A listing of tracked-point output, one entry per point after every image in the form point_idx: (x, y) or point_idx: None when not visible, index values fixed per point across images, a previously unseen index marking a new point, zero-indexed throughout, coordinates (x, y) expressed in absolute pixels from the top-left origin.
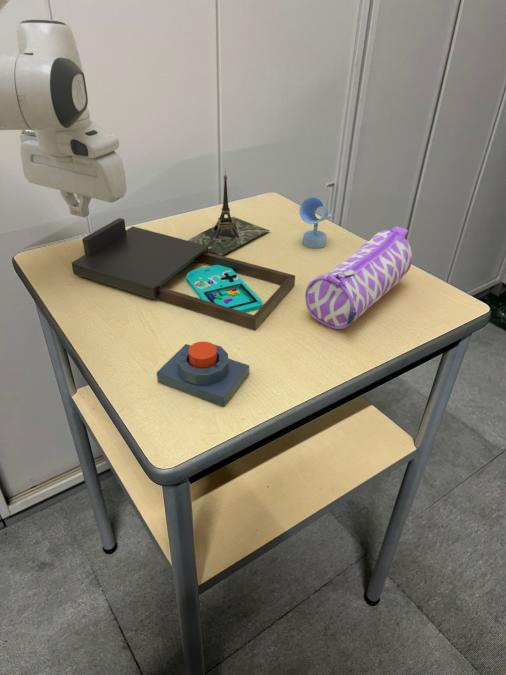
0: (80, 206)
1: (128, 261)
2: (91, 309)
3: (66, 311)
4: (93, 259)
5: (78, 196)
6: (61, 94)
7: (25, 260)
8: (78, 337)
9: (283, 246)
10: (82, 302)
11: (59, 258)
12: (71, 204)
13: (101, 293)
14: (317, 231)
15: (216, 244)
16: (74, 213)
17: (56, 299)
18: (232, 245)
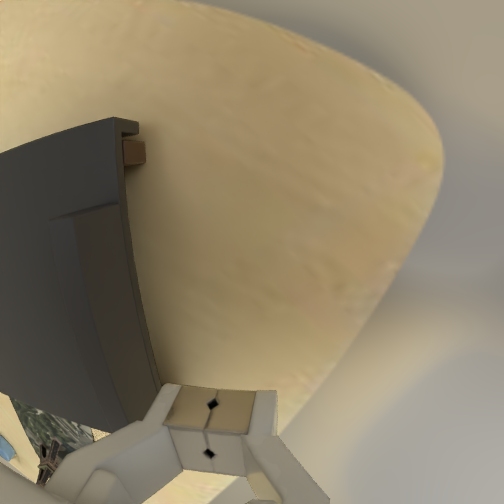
0: (133, 431)
1: (5, 249)
2: (19, 62)
3: (56, 15)
4: (70, 192)
5: (93, 490)
6: None
7: (407, 116)
8: (5, 6)
9: (8, 431)
10: (45, 60)
11: (305, 195)
12: (242, 447)
13: (33, 119)
14: (3, 457)
15: (41, 423)
16: (231, 395)
17: (104, 16)
18: (27, 423)
